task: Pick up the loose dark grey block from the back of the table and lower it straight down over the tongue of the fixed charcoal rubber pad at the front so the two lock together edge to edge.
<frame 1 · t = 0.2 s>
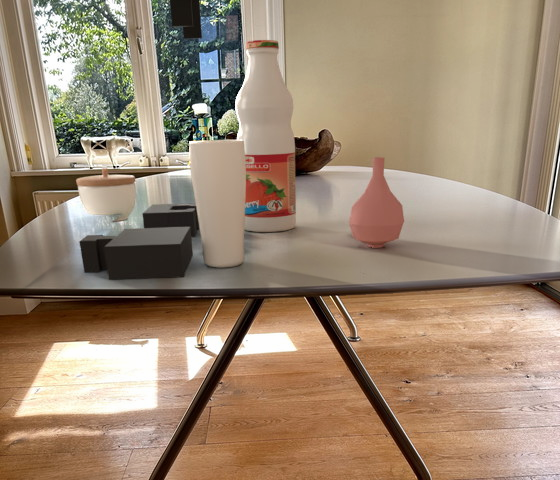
hand: (188, 33, 84), 29 cm above the table, tool pointing down, fingers open, 13 cm apart
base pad: (150, 266, 77), on the table
drinking glass: (224, 265, 78), on the table
fruit juice: (268, 229, 102), on the table
pink teardrop shaped piece: (375, 247, 86), on the table
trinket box: (111, 220, 115), on the table
dark grey block: (174, 232, 100), on the table
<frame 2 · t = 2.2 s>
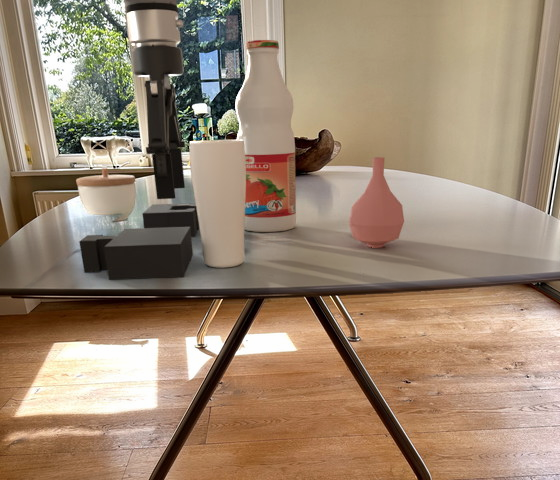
hand: (172, 193, 98), 6 cm above the table, tool pointing down, fingers open, 13 cm apart
nothing on the table moved.
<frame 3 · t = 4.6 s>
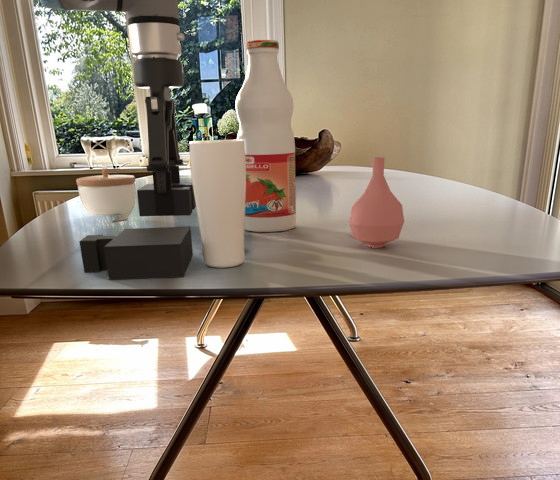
hand: (169, 209, 99), 4 cm above the table, tool pointing down, fingers closed on dark grey block, 10 cm apart
dark grey block: (169, 211, 99), point 3 cm above the table, touching gripper
everything else where it was.
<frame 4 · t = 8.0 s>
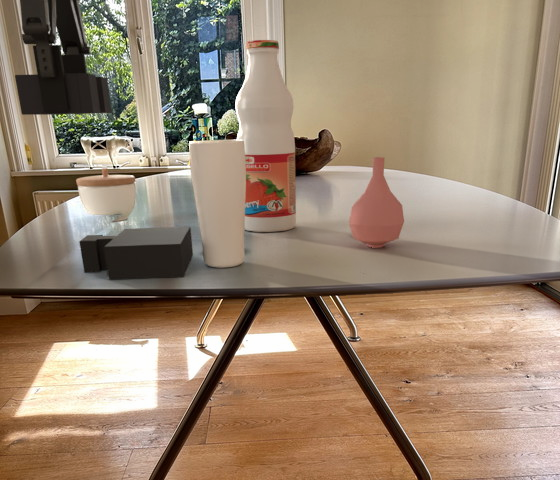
hand: (69, 111, 72), 19 cm above the table, tool pointing down, fingers closed on dark grey block, 10 cm apart
dark grey block: (69, 113, 72), point 19 cm above the table, touching gripper
everything else where it was.
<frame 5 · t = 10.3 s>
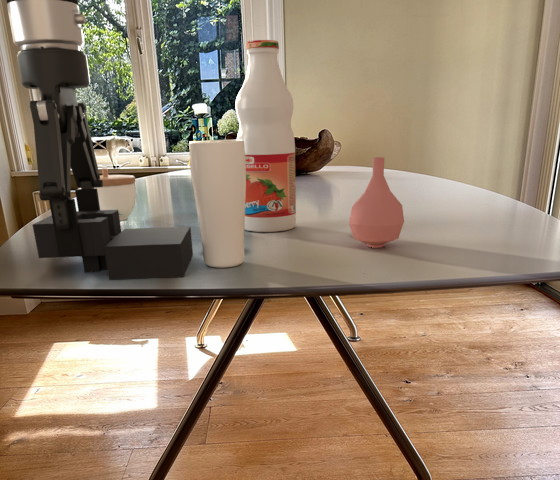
hand: (83, 246, 76), 3 cm above the table, tool pointing down, fingers closed on dark grey block, 10 cm apart
dark grey block: (83, 248, 76), point 3 cm above the table, touching gripper
everything else where it was.
when the fingers open (0 cm above the table, at t = 11.7 s): dark grey block stays where it is, on the table.
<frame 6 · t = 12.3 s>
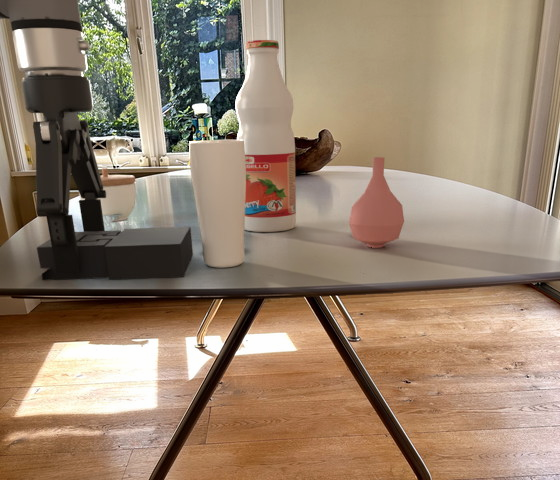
hand: (84, 259, 77), 1 cm above the table, tool pointing down, fingers open, 13 cm apart
dark grey block: (86, 269, 77), on the table
everything else where it was.
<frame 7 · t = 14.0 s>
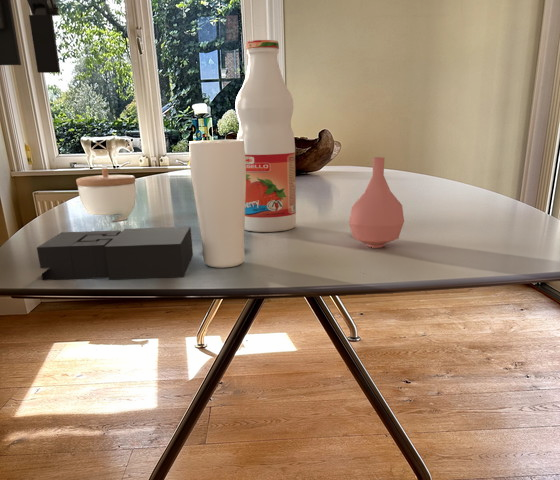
hand: (30, 69, 72), 24 cm above the table, tool pointing down, fingers open, 13 cm apart
nothing on the table moved.
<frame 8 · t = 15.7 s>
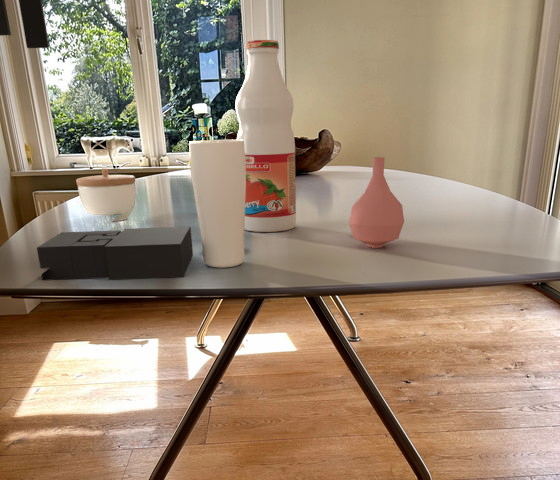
hand: (19, 42, 73), 27 cm above the table, tool pointing down, fingers open, 13 cm apart
nothing on the table moved.
at the end: dark grey block 0.1 cm from the target spot on the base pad, point 0.0 cm above the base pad's base; dark grey block tilted 0°; the gripper is holding nothing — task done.
